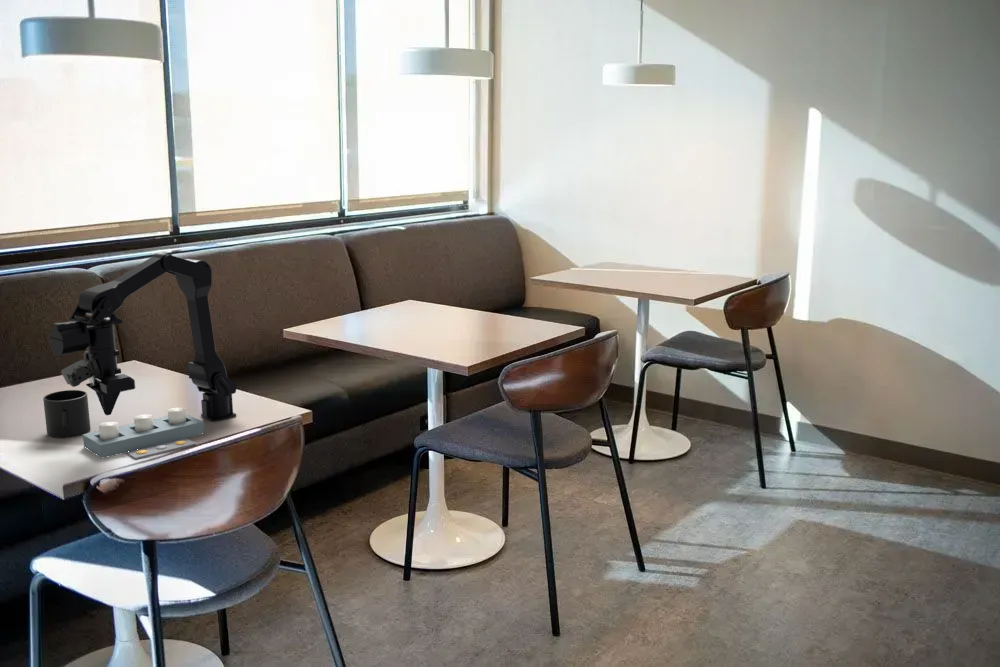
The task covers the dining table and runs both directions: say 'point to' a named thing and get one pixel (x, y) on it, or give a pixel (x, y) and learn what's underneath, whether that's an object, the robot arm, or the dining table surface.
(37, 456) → the dining table surface
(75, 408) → the mug
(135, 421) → the button mid
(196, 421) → the button board
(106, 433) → the button
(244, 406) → the dining table surface
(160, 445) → the card
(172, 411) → the button
